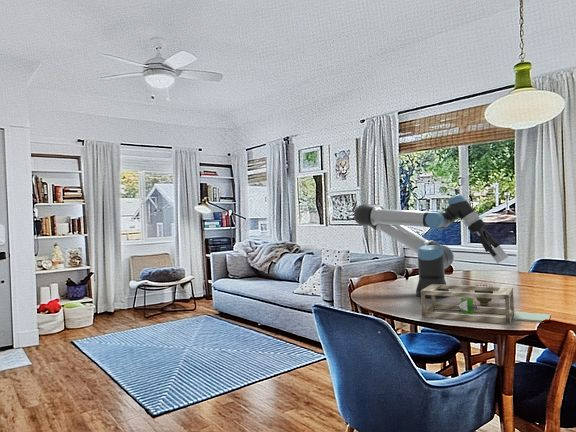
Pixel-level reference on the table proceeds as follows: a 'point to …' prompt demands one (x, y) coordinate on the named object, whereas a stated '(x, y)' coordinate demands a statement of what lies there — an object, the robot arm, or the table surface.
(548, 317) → the felt pad
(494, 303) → the table surface
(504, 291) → the crate
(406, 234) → the robot arm
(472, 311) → the geometric puzzle
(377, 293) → the table surface
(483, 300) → the cup
